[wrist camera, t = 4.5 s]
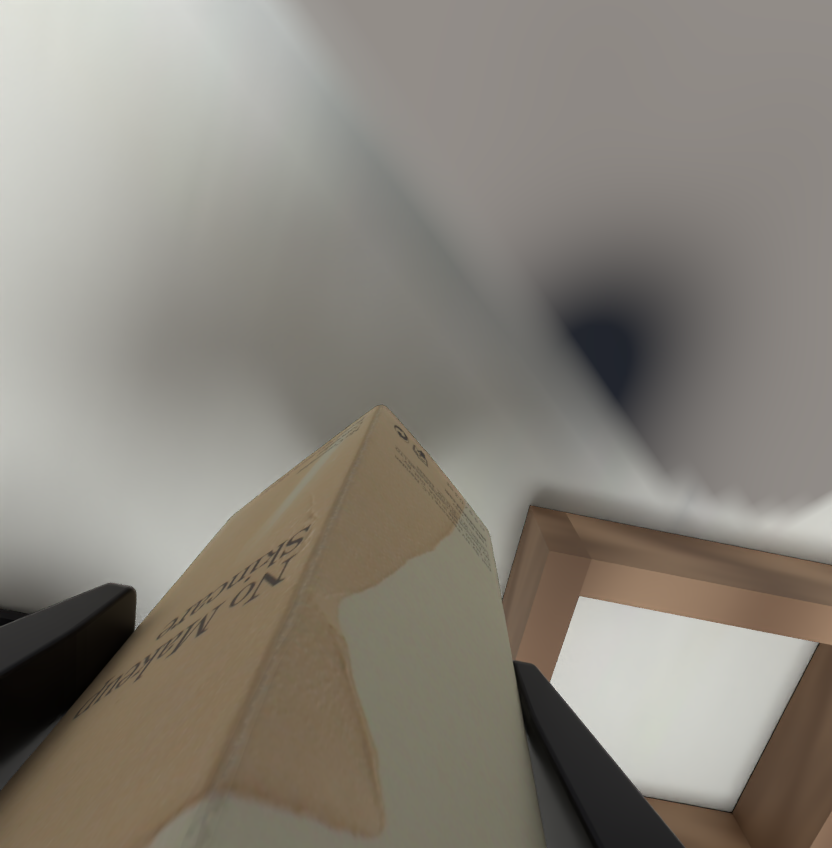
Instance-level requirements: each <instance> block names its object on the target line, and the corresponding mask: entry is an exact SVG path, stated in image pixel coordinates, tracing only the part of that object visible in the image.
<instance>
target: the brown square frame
mask: <svg viewBox="0 0 832 848" xmlns="http://www.w3.org/2000/svg"><path fill="white" fill-rule="evenodd" d="M579 596H583V597H588V598H593V599H598V600H603V601H609V602H614V603H619V604H624V605H629V606H634V607H639V608H644V609H650V610H655V611H660V612H665V613H670V614H675V615H680V616H685V617H691V618H696V619H701V620H706V621H711V622H716V623H721V624H727V625H732V626H737V627H742V628H747V629H752V630H757V631H762V632H768V633H773V634H778V635H783V636H788V637H793V638H798V639H803V640H809V641H814V642H819V643H820V644H819V646H818V648H817V650H816V651H815V653H814V655H813V657H812V659H811V661H810V663H809V665H808V667H807V669H806V671H805V673H804V675H803V677H802V679H801V681H800V683H799V684H798V686H797V688H796V690H795V692H794V694H793V696H792V698H791V700H790V702H789V704H788V706H787V708H786V710H785V712H784V714H783V715H782V717H781V719H780V721H779V723H778V725H777V727H776V729H775V731H774V733H773V735H772V737H771V739H770V741H769V743H768V745H767V747H766V748H765V750H764V752H763V754H762V756H761V758H760V760H759V762H758V764H757V766H756V768H755V770H754V772H753V774H752V776H751V778H750V780H749V781H748V783H747V785H746V787H745V789H744V791H743V793H742V795H741V797H740V799H739V801H738V803H737V805H736V807H735V809H734V811H733V813H728V812H722V811H717V810H712V809H706V808H701V807H696V806H690V805H685V804H679V803H674V802H669V801H663V800H658V799H652V798H647V797H644V798H645V799H646V800H647V801H648V802H649V804H650V805H651V806H652V807H653V808H654V810H655V811H656V812H657V813H658V815H659V816H660V817H661V818H662V819H663V821H664V822H665V823H666V824H667V825H668V827H669V828H670V829H671V830H672V831H673V833H674V834H675V835H676V836H677V838H678V839H679V840H680V841H681V842H682V844H683V845H684V846H685V847H686V848H832V565H827V564H822V563H817V562H812V561H807V560H802V559H797V558H792V557H787V556H782V555H777V554H772V553H767V552H762V551H757V550H752V549H747V548H742V547H737V546H732V545H727V544H722V543H717V542H712V541H707V540H702V539H697V538H692V537H687V536H682V535H677V534H671V533H666V532H661V531H656V530H651V529H646V528H641V527H636V526H631V525H626V524H621V523H616V522H611V521H606V520H601V519H596V518H591V517H586V516H581V515H576V514H571V513H566V512H561V511H556V510H551V509H546V508H541V507H536V506H531V505H530V507H529V511H528V514H527V518H526V521H525V524H524V528H523V531H522V535H521V538H520V542H519V545H518V548H517V552H516V555H515V559H514V562H513V566H512V569H511V572H510V576H509V579H508V583H507V586H506V590H505V593H504V597H503V600H502V604H503V609H504V614H505V620H506V626H507V632H508V637H509V643H510V648H511V654H512V660H517V661H522V662H527V663H532V664H534V665H535V666H536V667H537V668H538V669H539V670H540V671H541V673H542V674H543V675H544V676H545V678H546V679H547V680H548V681H549V682H550V680H551V677H552V674H553V671H554V668H555V665H556V662H557V659H558V656H559V654H560V651H561V648H562V645H563V642H564V639H565V636H566V633H567V630H568V627H569V624H570V621H571V618H572V615H573V612H574V609H575V607H576V604H577V601H578V598H579Z"/></svg>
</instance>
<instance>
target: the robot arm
mask: <svg viewBox="0 0 832 848" xmlns="http://www.w3.org/2000/svg"><path fill="white" fill-rule="evenodd" d="M135 616H136V590H135V589H134V588H133V587H132V586H127V585H122V584H117V583H107V584H104V585H102V586H99V587H97V588H94V589H92V590H89V591H87V592H84V593H82V594H79V595H77V596H75V597H72V598H70V599H67V600H65V601H62V602H60V603H57V604H55V605H52V606H50V607H47V608H45V609H42V610H40V611H37V612H35V613H33V614H24V613H19V612H14V611H9V610H3V609H0V791H1V790H2V788H3V787H4V786H5V785H6V784H7V782H8V781H9V780H10V779H11V778H12V777H13V775H14V774H15V773H16V772H17V771H18V770H19V768H20V767H21V766H22V765H23V764H24V762H25V761H26V760H27V759H28V758H29V757H30V755H31V754H32V753H33V752H34V751H35V750H36V748H37V747H38V746H39V745H40V744H41V743H42V742H43V740H44V739H45V738H46V737H47V736H48V734H49V733H50V732H51V731H52V730H53V728H54V727H55V726H56V725H57V724H58V722H59V721H60V720H61V719H62V717H63V716H64V715H65V714H66V713H67V711H68V710H69V709H70V708H71V707H72V705H73V704H74V703H75V702H76V701H77V699H78V698H79V697H80V696H81V695H82V693H83V692H84V691H85V690H86V689H87V688H88V686H89V685H90V684H91V683H92V682H93V680H94V679H95V678H96V677H97V676H98V674H99V673H100V672H101V671H102V669H103V668H104V667H105V666H106V665H107V663H108V662H109V661H110V660H111V659H112V657H113V656H114V655H115V654H116V653H117V651H118V650H119V649H120V648H121V647H122V645H123V644H124V643H125V642H126V641H127V639H128V638H129V637H130V636H131V635H132V633H133V632H134V630H135ZM513 665H514V671H515V676H516V681H517V686H518V692H519V697H520V702H521V708H522V714H523V719H524V725H525V730H526V736H527V741H528V747H529V753H530V758H531V764H532V770H533V775H534V781H535V786H536V792H537V797H538V803H539V808H540V814H541V819H542V825H543V830H544V835H545V841H546V846H547V848H686V847H685V846H684V845H683V844H682V842H681V841H680V840H679V839H678V838H677V836H676V835H675V834H674V833H673V831H672V830H671V829H670V828H669V827H668V825H667V824H666V823H665V822H664V821H663V819H662V818H661V817H660V816H659V815H658V813H657V812H656V811H655V810H654V808H653V807H652V806H651V805H650V804H649V802H648V801H647V800H646V799H645V798H644V796H643V795H642V794H641V793H640V791H639V790H638V789H637V788H636V787H635V785H634V784H633V783H632V782H631V781H630V779H629V778H628V777H627V776H626V775H625V773H624V772H623V771H622V770H621V768H620V767H619V766H618V765H617V764H616V762H615V761H614V760H613V759H612V758H611V756H610V755H609V754H608V753H607V751H606V750H605V749H604V748H603V747H602V745H601V744H600V743H599V742H598V741H597V739H596V738H595V737H594V736H593V735H592V733H591V732H590V731H589V730H588V728H587V727H586V726H585V725H584V724H583V722H582V721H581V720H580V719H579V718H578V716H577V715H576V714H575V713H574V711H573V710H572V709H571V708H570V707H569V705H568V704H567V703H566V702H565V701H564V699H563V698H562V697H561V696H560V694H559V693H558V692H557V691H556V690H555V688H554V687H553V686H552V685H551V684H550V682H549V681H548V680H547V679H546V678H545V676H544V675H543V674H542V673H541V671H540V670H539V669H538V668H537V667H536V666H535V665H534V664H532V663H527V662H522V661H517V660H513Z"/></svg>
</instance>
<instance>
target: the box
mask: <svg viewBox="0 0 832 848" xmlns="http://www.w3.org/2000/svg"><path fill="white" fill-rule="evenodd" d="M0 848H547V846H546V841H545V835H544V830H543V825H542V819H541V814H540V808H539V803H538V797H537V792H536V786H535V781H534V775H533V770H532V764H531V758H530V753H529V747H528V741H527V736H526V730H525V725H524V719H523V714H522V708H521V702H520V697H519V692H518V686H517V681H516V676H515V671H514V665H513V660H512V654H511V648H510V643H509V637H508V632H507V626H506V620H505V614H504V609H503V604H502V598H501V591H500V586H499V581H498V575H497V569H496V564H495V559H494V554H493V548H492V543H491V538H490V534H489V532H488V529H487V528H486V527H485V525H484V524H483V523H482V521H481V520H480V519H479V517H478V516H477V515H476V513H475V512H474V511H473V509H472V508H471V507H470V505H469V504H468V503H467V502H466V500H465V499H464V498H463V496H462V495H461V494H460V492H459V491H458V490H457V489H456V487H455V486H454V485H453V484H452V483H451V481H450V480H449V479H448V477H447V476H446V475H445V474H444V473H443V471H442V470H441V469H440V468H439V466H438V465H437V464H436V463H435V461H434V460H433V459H432V458H431V457H430V455H429V454H428V453H427V452H426V451H425V450H424V449H423V447H422V446H421V445H420V444H419V443H418V442H417V440H416V439H415V438H414V437H413V436H412V434H411V433H410V432H409V431H408V430H407V429H406V428H405V427H404V426H403V424H402V423H401V422H400V421H399V420H398V419H397V418H396V417H395V415H394V414H393V413H392V412H391V411H390V410H389V409H388V408H387V407H386V406H384V405H378V406H376V407H374V408H373V409H372V410H370V411H369V412H367V413H366V414H365V415H363V416H362V417H360V418H359V419H358V420H356V421H355V422H354V423H352V424H351V425H350V426H348V427H347V428H346V429H344V430H343V431H342V432H340V433H339V434H338V435H336V436H335V437H334V438H332V439H331V440H330V441H328V442H327V443H326V444H325V445H323V446H322V447H321V448H319V449H318V450H317V451H315V452H314V453H313V454H311V455H310V456H309V457H307V458H306V459H305V460H303V461H302V462H301V463H299V464H298V465H297V466H295V467H294V468H293V469H292V470H290V471H289V472H288V473H286V474H285V475H284V476H282V477H281V478H280V479H279V480H277V481H276V482H275V483H273V484H272V485H271V486H269V487H268V488H267V489H266V490H264V491H263V492H262V493H261V494H259V495H258V496H257V497H256V498H254V499H253V500H252V501H250V502H249V503H248V504H246V505H245V506H244V507H243V508H242V509H240V510H239V511H238V512H236V513H235V514H234V515H233V516H232V517H231V518H230V519H229V520H228V521H227V522H226V524H225V525H224V526H223V527H222V528H221V529H220V531H219V532H218V533H217V534H216V535H215V536H214V538H213V539H212V540H211V541H210V542H209V543H208V545H207V546H206V547H205V548H204V549H203V551H202V552H201V553H200V554H199V555H198V557H197V558H196V559H195V560H194V561H193V563H192V564H191V565H190V566H189V567H188V569H187V570H186V571H185V572H184V573H183V575H182V576H181V577H180V578H179V579H178V581H177V582H176V583H175V584H174V585H173V586H172V587H171V589H170V590H169V591H168V592H167V593H166V595H165V596H164V597H163V598H162V599H161V600H160V602H159V603H158V604H157V605H156V606H155V608H154V609H153V610H152V611H151V612H150V613H149V615H148V616H147V617H146V618H145V619H144V620H143V622H142V623H141V624H140V625H139V626H138V627H137V629H136V630H135V631H134V632H133V633H132V635H131V636H130V637H129V638H128V639H127V641H126V642H125V643H124V644H123V645H122V647H121V648H120V649H119V650H118V651H117V653H116V654H115V655H114V656H113V657H112V659H111V660H110V661H109V662H108V663H107V665H106V666H105V667H104V668H103V669H102V671H101V672H100V673H99V674H98V676H97V677H96V678H95V679H94V680H93V682H92V683H91V684H90V685H89V686H88V688H87V689H86V690H85V691H84V692H83V693H82V695H81V696H80V697H79V698H78V699H77V701H76V702H75V703H74V704H73V705H72V707H71V708H70V709H69V710H68V711H67V713H66V714H65V715H64V716H63V717H62V719H61V720H60V721H59V722H58V724H57V725H56V726H55V727H54V728H53V730H52V731H51V732H50V733H49V734H48V736H47V737H46V738H45V739H44V740H43V742H42V743H41V744H40V745H39V746H38V747H37V748H36V750H35V751H34V752H33V753H32V754H31V755H30V757H29V758H28V759H27V760H26V761H25V762H24V764H23V765H22V766H21V767H20V768H19V770H18V771H17V772H16V773H15V774H14V775H13V777H12V778H11V779H10V780H9V781H8V782H7V784H6V785H5V786H4V787H3V788H2V790H1V791H0Z"/></svg>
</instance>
